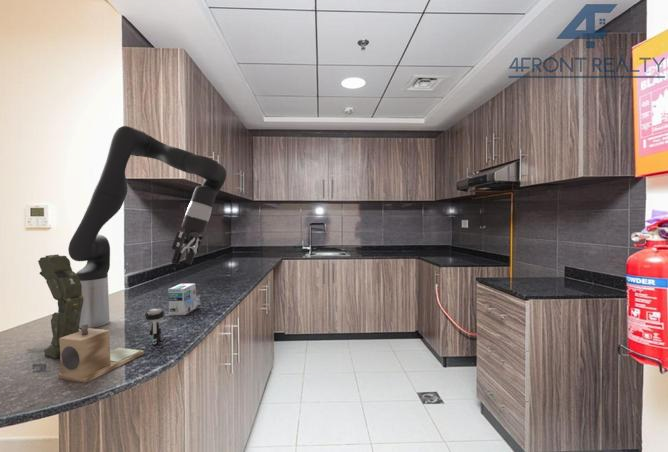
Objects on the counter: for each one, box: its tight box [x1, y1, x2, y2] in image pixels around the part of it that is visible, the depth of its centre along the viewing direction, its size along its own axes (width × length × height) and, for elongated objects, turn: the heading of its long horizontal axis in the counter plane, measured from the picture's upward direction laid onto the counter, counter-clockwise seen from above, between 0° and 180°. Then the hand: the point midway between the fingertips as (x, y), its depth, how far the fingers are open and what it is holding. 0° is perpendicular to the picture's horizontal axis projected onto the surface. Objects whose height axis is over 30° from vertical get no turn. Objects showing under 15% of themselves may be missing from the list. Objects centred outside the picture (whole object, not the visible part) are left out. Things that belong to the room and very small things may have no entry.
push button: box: [144, 307, 165, 345], centre depth 98 cm, size 7×5×10 cm
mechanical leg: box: [37, 253, 84, 360], centre depth 91 cm, size 14×7×30 cm, turn 71°
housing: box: [57, 324, 145, 384], centre depth 83 cm, size 16×9×12 cm, turn 164°
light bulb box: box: [167, 283, 197, 316], centre depth 130 cm, size 11×7×11 cm, turn 179°
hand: (181, 263), depth 104 cm, fingers open, 8 cm apart
